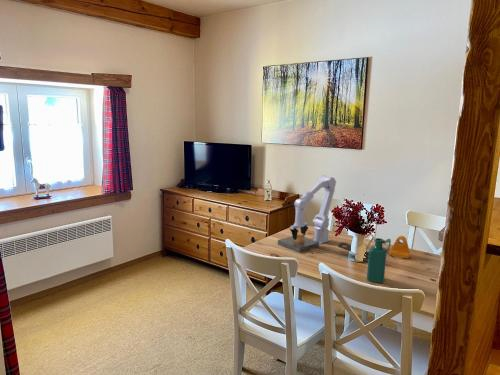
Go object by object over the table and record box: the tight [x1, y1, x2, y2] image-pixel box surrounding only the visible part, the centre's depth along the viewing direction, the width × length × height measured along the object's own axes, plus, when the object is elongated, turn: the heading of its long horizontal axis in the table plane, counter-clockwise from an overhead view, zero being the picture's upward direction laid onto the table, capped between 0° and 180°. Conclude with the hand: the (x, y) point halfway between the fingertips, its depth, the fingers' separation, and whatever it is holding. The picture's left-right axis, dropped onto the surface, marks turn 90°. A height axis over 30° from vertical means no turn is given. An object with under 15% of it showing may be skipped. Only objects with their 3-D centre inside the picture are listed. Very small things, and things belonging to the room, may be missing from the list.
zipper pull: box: [337, 241, 369, 264], centre depth 226 cm, size 9×7×25 cm
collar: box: [277, 235, 320, 253], centre depth 245 cm, size 19×19×3 cm
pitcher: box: [366, 237, 392, 284], centre depth 195 cm, size 10×8×22 cm
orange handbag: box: [388, 235, 411, 259], centre depth 231 cm, size 11×7×12 cm, turn 58°
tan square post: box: [294, 231, 305, 243], centre depth 245 cm, size 4×4×8 cm
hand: (298, 238), depth 245 cm, fingers open, 7 cm apart
